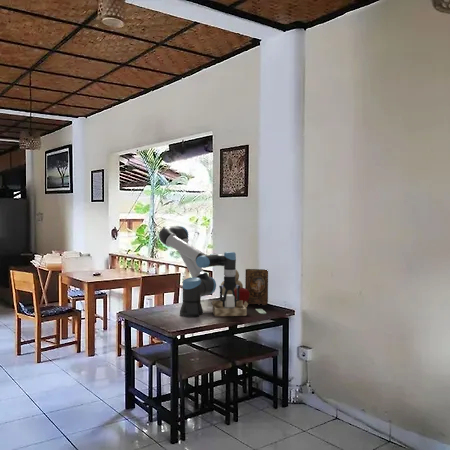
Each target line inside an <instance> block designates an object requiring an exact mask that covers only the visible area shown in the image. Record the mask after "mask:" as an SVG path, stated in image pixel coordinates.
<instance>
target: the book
mask: <svg viewBox="0 0 450 450" xmlns="http://www.w3.org/2000/svg"><path fill="white" fill-rule="evenodd" d="M267 270H268V269H267ZM267 270H265V269H258V268H245V276H244V277H245V279H244V280H245V281H244V283H245V287H244V288H245V289H247V290H248V291H249V293H250V295H249V299H248V302H247V303H248V305H249V304H258V305H259V306H267V305H268V303H269V270H268V271H267ZM260 304H262V305H260ZM258 305H257V306H258Z"/></svg>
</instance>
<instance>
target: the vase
mask: <svg viewBox="0 0 450 450" xmlns="http://www.w3.org/2000/svg"><path fill="white" fill-rule="evenodd" d="M235 277H236V285H239V286H240V288H241V287H242V288H244V285H243V283H242V281H241V280H240V279H239V278H240V273H239V271H238V270H237V269H236V275H235ZM223 284H224V280H223V281H222V282H221V283H220V285H223ZM235 289H237V288H236V287H235V288H234V290H235ZM224 293H225V287H223V289H222V298H223V297H224ZM227 294H232V291H231V290H229V291H228V292H227Z"/></svg>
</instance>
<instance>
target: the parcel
mask: <svg viewBox="0 0 450 450" xmlns="http://www.w3.org/2000/svg"><path fill="white" fill-rule="evenodd" d="M225 302H226V308H234V296H233V294H227V296H226V299H225Z"/></svg>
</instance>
